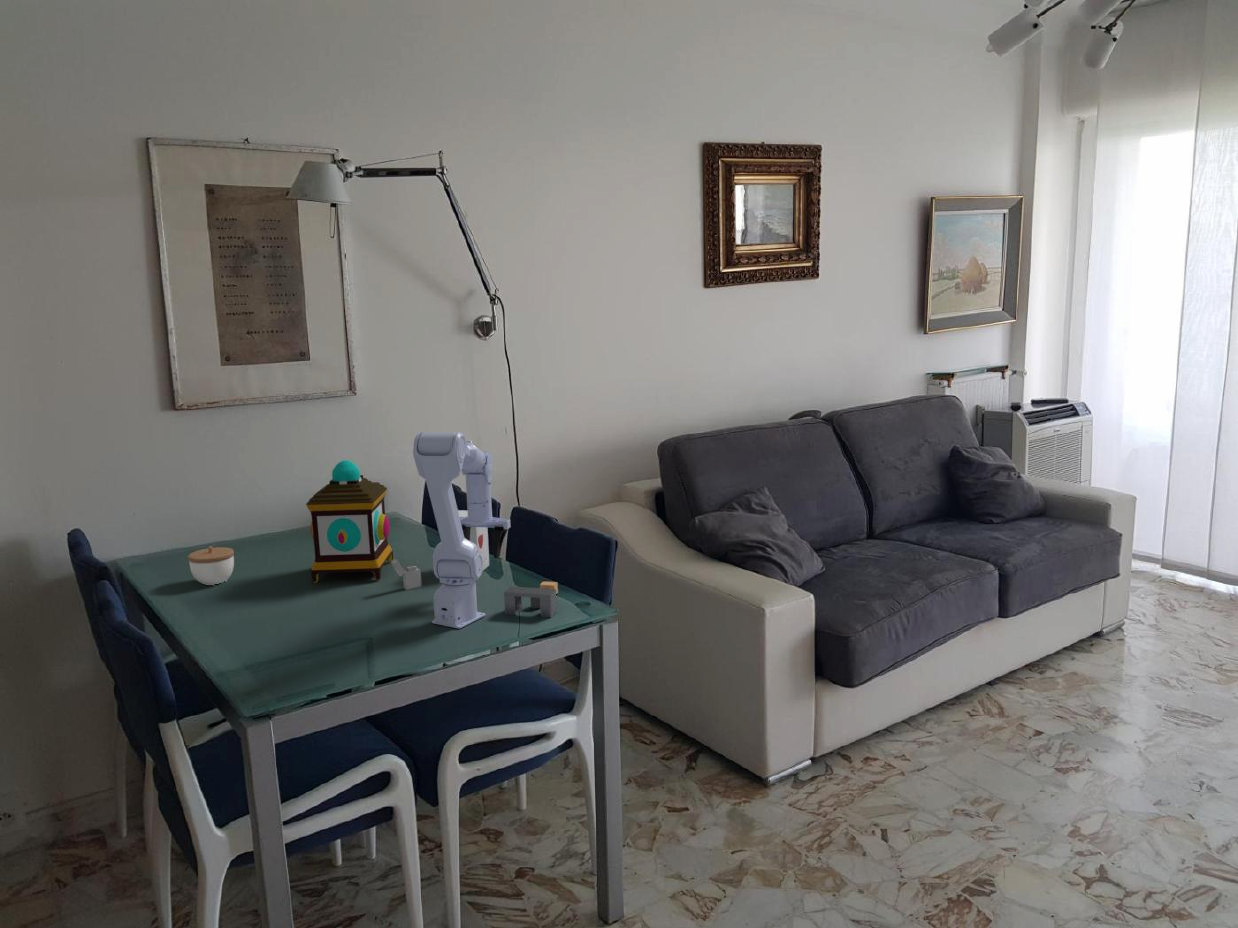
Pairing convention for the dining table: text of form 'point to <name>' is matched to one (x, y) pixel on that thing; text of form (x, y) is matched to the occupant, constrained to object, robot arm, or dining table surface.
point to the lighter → (408, 575)
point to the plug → (544, 585)
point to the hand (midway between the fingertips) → (482, 556)
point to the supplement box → (479, 539)
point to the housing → (515, 593)
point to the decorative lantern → (349, 524)
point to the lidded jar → (212, 564)
